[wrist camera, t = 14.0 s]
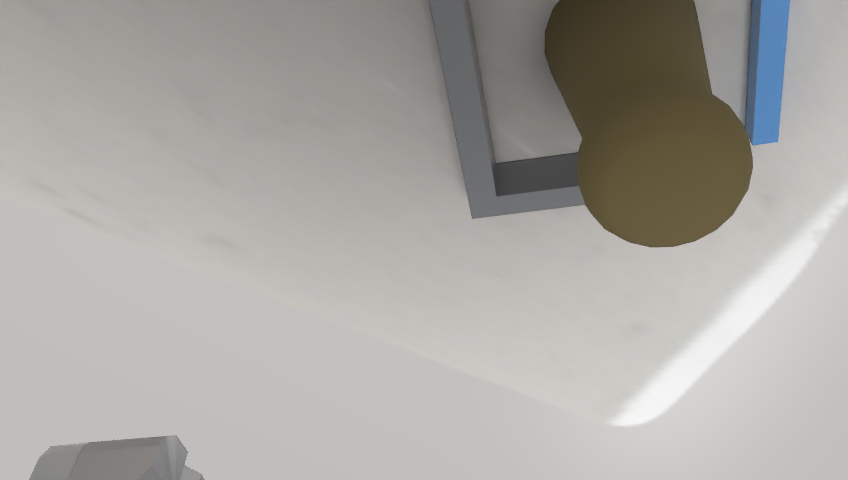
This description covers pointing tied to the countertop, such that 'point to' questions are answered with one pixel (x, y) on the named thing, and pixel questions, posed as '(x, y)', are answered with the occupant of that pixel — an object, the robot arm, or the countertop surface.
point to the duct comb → (557, 175)
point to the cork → (647, 119)
